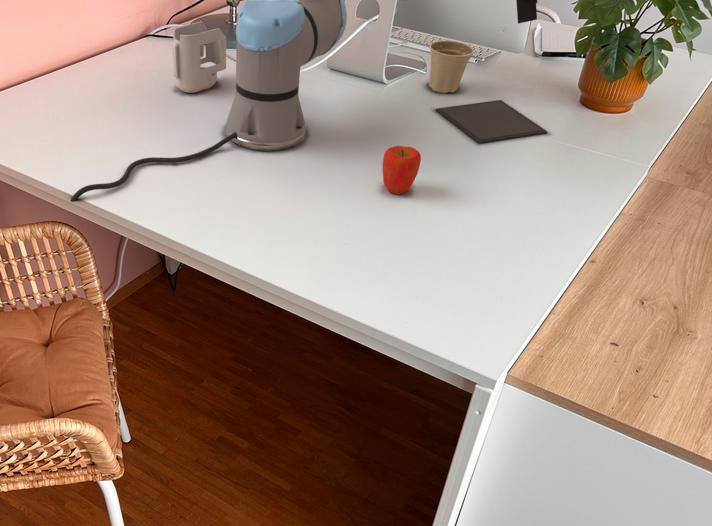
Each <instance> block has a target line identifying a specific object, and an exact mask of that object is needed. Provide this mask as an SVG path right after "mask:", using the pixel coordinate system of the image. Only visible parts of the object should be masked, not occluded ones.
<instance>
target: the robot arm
mask: <svg viewBox="0 0 712 526" xmlns="http://www.w3.org/2000/svg"><path fill="white" fill-rule="evenodd" d="M515 1H516V2H515V3H516V16H517V17H516V18H517V24H523V23H526V22H533V21H537V20H538V13H537V12H538V11H537V4H538V0H515ZM347 21H348V12H347V7H346V3H345V1H344V0H247V1H245V2H243V3H242V5H241V7H240V8H239V9H238V12H237V17H236V26H235V37H236V38H235V39H236V41H235V42H236V43H235V45H236V46H235V51H236V54H235V55H236V56H235V57H236V58H235V67H236V68H235V95H234V97H233V100H232V104H231V107H230V109H229V113H228V116H227V118H226V123H225V128H226V129H225V134H226V137H224V138H223V139H221V140H220V141H218V142H217V143H216V144H214V145H212V146H210V147H208V148H206V149H204V150H201V151H199V152H195V153H192V154H188V155H184V156H178V157H177V156H176V157H154V156H153V157H145V158H140V159H137V160H135V161H133V162H131V163H130V164H129V165H128V167H127V168H126V169H125V171H124V174H123V175H122V176H121V177H120V178H119V179H118V180H115V181H113V182H112V181H111V182H107V183H105V182H104V183H94V184H88V185H85V186H83V187H81V188H80V189H78V190H77V191H75V193H74V194H73V195H72V196H71V198H70V200H69V202H70V203H75V202H77V201H78V200H79V198H80V197H81V196H82V195H83V194H85V193H87V192H91V191H96V190H110V189H114V188H117V187H119V186H121V185H123V184H124V183H125V182H127V180H128V179H129V177H130V175H131V173H132V172H133V170H134V169H135V168H136V167H138V166H141V165H145V164H154V163H155V164H157V163H159V164H160V163H161V164H177V163H184V162H188V161H192V160H196V159H199V158H202V157H204V156H206V155H208V154H210V153H212V152H214V151H217V150H218V149H220V148H221V147H223V146H224V145H225V144H227V143H229V142H230V141H231V142H233V143H234V144H236V145H238V146H241V147H243V148H246V149H250V150H256V151H267V152H269V151H272V152H273V151H281V150H286V149H290V148H293V147H295V146H297V145H299V144H300V143H301V142H302V141H303V140H304V139H305V137H306V121H305V117H304V112H303V109H302V105H301V100H300V97H299V92H300V91H299V90H300V89H299V88H300V75H301V67H304V65H307V64H309V63H310V62H312V61H313V60H315V59H316V58H317V57H320V56H321V57H322V56H324V55H326V54H327V53H328V52H330V50H332V49H333V47H335V46H336V45H337V44H338V43H339V42H340V40H341V39H342V38H343V35H344V33H345V30H346V27H347Z"/></svg>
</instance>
